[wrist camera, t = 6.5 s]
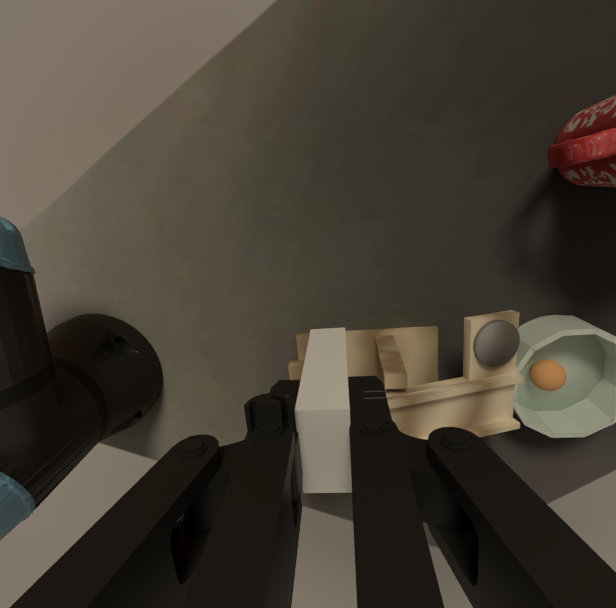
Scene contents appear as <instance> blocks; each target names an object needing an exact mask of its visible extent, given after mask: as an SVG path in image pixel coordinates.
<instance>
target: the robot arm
mask: <svg viewBox="0 0 616 608" xmlns="http://www.w3.org/2000/svg"><path fill="white" fill-rule="evenodd" d="M33 274H35V270H34V268H33V267H32V266H31V265H30V262H29V259H28V256H27V253H26V249H25V246H24V242H23V239H22V236H21V233H20V232H19V230H18V229H17V227H16V226H15V225H14V224H12V223H11V222H10V221H8V220H6V219H4V218H2V217H0V540H1V539H2V538H3V537H5V536H6V535H7V534H8V533H9V532H10V531H11V530H12V529H13V528H14V527H15V526H16V525H18V524H19V523H20V522H21V521H23V520H25V519H27V518H28V517H29V516H30V515H31V513H33V511H34V510H35V509H36V508H37V507H38V506H39V505H40V503H41V502H42V501H43V500H44V499H45V498H46V497H47V496H48V495H49V494H50V493H51V492H52V490H54V488H55V487H56V486H58V484H59V483H60V482H61V481H62V480H63V479H64V478H65V477H66V476H67V475H68V474H69V473H70V472H71V471H72V470H73V468H74V467H75V466H76V465H77V464H78V463H79V462H80V461H81V460H82V459H83V458H84V457H85V456H86V455H87V454H88V453H89V452H90V451H91V449H92V448H93V447H94V446H95V445H96V444H97V443H98V442H99V441H101V440H103V439H105V438H108V437H110V436H112V435H114V434H116V433H118V432H120V431H123V430H125V429H127V428H129V427H131V426H133V425H134V424H136V423H137V422H138V421H140V420H141V419H142V418H143V417H144V416H145V415H146V414H147V413H148V411H149V410H150V409H151V408H152V407H153V406H154V404H155V403H156V401H157V399H158V397H159V394H160V391H161V387H162V371H161V366H160V363H159V360H158V357H157V355H156V353H155V351H154V349H153V348H152V346H151V345H150V343H149V342H148V341H147V340H146V338H145V337H144V336H143V335H142V334H141V333H140V332H138V331H137V330H136V329H135V328H133V327H132V326H130V325H129V324H127V323H125V322H124V321H122V320H119V319H117V318H114V317H111V316H107V315H101V314H86V315H81V316H77V317H74V318H72V319H70V320H68V321H66V322H63V323H61V324H59V325H57V326H56V327H54V328H53V329H52V330H50V331H49V332H48V333H46V329H45V325H44V320H43V316H42V311H41V307H40V302H39V298H38V293H37V289H36V284H35V280H34V275H33ZM244 409H245V416H246V423H247V430H248V432H247V435H246V438H245V439H244V440H242V441H240V442H237V443H234V444H230V445H225V446H221V447H219V442H218V440H217V439H216V438H215V437H213V436H210V435H195V436H191V437H188V438H186V439H184V440H181V441H180V442H178V443H177V444H176V445H174V446H173V447H172V448H171V449H170V450H169V451H168V452H167V453H166V454H165V455H164V456H163V457H162V458H161V459H160V460H159V461H158V462H157V463H156V464H155V465H154V466H153V467H152V468H151V469H150V470H149V471H148V472H147V473H146V474H145V475H144V476H143V477H142V478H141V479H140V480H139V481H138V482H137V483H136V484H135V485H134V486H133V487H132V488H131V489H130V490H129V491H128V492H127V493H126V494H124V495H123V496H122V497H121V498H120V499H119V500H118V501H117V502H116V503H115V504H114V506H112V507H111V509H109V510H108V511H107V512H106V513H105V514H104V515H103V516H102V517H101V518H100V519H99V520H98V521H97V522H96V523H95V524H94V525H93V526H92V527H91V528H90V529H89V530H88V531H87V532H86V533H85V534H84V535H83V536H82V537H81V538H80V539H79V540H78V541H77V542H76V543H75V544H74V545H73V546H72V547H71V548H70V549H69V550H68V551H67V552H66V553H65V554H64V555H63V556H62V557H61V558H60V559H59V560H58V561H57V562H56V563H55V564H54V565H53V566H52V567H50V569H48V570H47V571H46V572H45V573H44V574H43V575H42V576H41V577H40V578H39V579H38V580H37V581H36V582H35V583H34V584H33V585H32V587H30V588H29V589H28V590H27V591H26V592H25V593H24V594H23V595H22V596H21V597H20V598H19V599H18V600H17V601H16V602H15V603H14V604H13V605H12V606H11V607H10V608H291V602H292V594H293V585H294V576H295V566H296V558H297V549H298V540H299V531H300V521H301V512H302V502H301V485H302V487H303V493H352V501H353V523H354V543H355V564H356V587H357V608H444V605H443V601H442V597H441V593H440V590H439V585H438V582H437V578H436V574H435V570H434V566H433V562H432V558H431V554H430V550H429V547H428V543H427V539H426V535H425V531H424V527H423V523H422V522H425V523H427V524H428V527H429V530H430V532H431V534H432V536H433V538H434V539H435V541H436V543H437V545H438V547H439V548H440V550H441V552H442V554H443V555H444V557H445V559H446V560H447V562H448V564H449V566H450V567H451V569H452V571H453V573H454V575H455V576H456V578H457V580H458V582H459V584H460V585H461V587H462V589H463V591H464V592H465V594H466V596H467V597H468V599H469V601H470V603H471V605H472V606H473V608H616V572H615V571H613V569H612V568H611V567H610V566H609V565H607V564H606V562H605V561H604V560H603V559H601V558H600V557H599V556H598V555H597V554H596V553H595V552H594V551H593V550H592V549H591V548H590V547H589V546H588V545H587V544H586V543H585V542H584V541H583V540H582V539H581V538H580V537H579V536H578V535H577V534H576V533H575V532H574V531H573V530H572V529H571V528H570V527H569V526H568V525H567V524H566V523H565V522H564V521H563V520H562V519H561V518H560V517H559V516H558V515H557V514H556V513H555V512H554V511H553V510H552V509H551V508H550V507H549V506H548V505H547V504H546V503H545V502H544V501H543V500H542V499H541V498H540V497H539V496H538V495H537V494H536V493H535V492H534V491H533V490H532V489H531V488H530V487H529V486H528V485H527V484H526V483H525V482H524V481H523V480H522V479H521V478H520V477H519V476H518V475H517V474H516V473H515V472H514V471H513V470H512V469H511V468H510V467H509V466H508V465H507V464H506V463H505V462H504V461H503V460H502V459H501V458H500V457H499V456H498V455H497V454H496V453H495V452H494V451H493V450H492V449H491V448H489V447H488V446H487V445H486V444H485V443H484V442H483V441H482V440H481V439H480V438H479V437H478V436H477V435H475V434H474V433H472V432H470V431H468V430H465V429H462V428H458V427H441V428H438V429H435V430H433V431H432V432H431V433H430V434H429V437H428V440H426V439H420V438H416V437H412V436H409V435H406V434H404V433H402V432H401V431H399V430H398V427H397V425H396V424H395V422H394V421H392V417H391V413H390V409H389V405H388V401H387V398H386V393H385V389H384V385H383V382H382V381H381V380H380V379H379V378H378V377H376V376H352V377H348V371H347V354H346V337H345V328H329V329H311V331H310V336H309V341H308V346H307V351H306V356H305V361H304V366H303V371H302V376H301V380H279V381H278V382H277V383H276V384H275V385H274V386H272V387H271V390H270V393H268V394H262V395H259V396H256V397H253V398H252V399H250V400H249V401H247V403H246V404H245V405H244ZM180 517H181V518H180ZM177 521H178V522H177Z"/></svg>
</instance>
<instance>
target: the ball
mask: <svg viewBox="0 0 616 608" xmlns="http://www.w3.org/2000/svg"><path fill="white" fill-rule="evenodd" d="M529 375H530V379H531V381H532V383H533V384H534V385H535V386H536V387H538V388H539V389H541V390H545V391H555V390H558V389H560V388H561V387H562V386H563V385H564V384H565V382H566V378H567V375H566V371H565V369H564V368H563V367H562V366H561V365H560V364H559V363H558V362H556V361H553V360H549V359H543V360H539V361H537V362H535V363H534V364H533V365H532V367H531V369H530V372H529Z"/></svg>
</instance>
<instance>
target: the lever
mask: <svg viewBox="0 0 616 608" xmlns="http://www.w3.org/2000/svg"><path fill="white" fill-rule="evenodd" d="M518 329H519V313H518V312H516V311H513V310H509V311H503V312H497V313H491V314H484V315H478V316H472V317H466V318H464V353H463V377H458V378H453V379H448V380H443V381H438V382H432V383H427V384H422V385H417V386H412V387H408V388H404V389H387V391H386V392H385V393H386V398H387V401H388V405H389V409H390V413H391V417H392V421H394V422H395V424H396V425H397V427H398V430H399V431H401V432H402V433H404V434H406V435H409V436H412V437H416V438H420V439H426V440H428V437H429V434H430V433H431V432H432V431H433V430H435V429H438V428H441V427H458V428H462V429H465V430H468V431H470V432H472V433H474V434H475V435H477V436H478V437H484V436H488V435H493V434H497V433H502V432H506V431H510V430H515V429H519V428H520V423H519V422H518V421H517V420H515V419H514V418H513V407H514V391H515V384H517V383H522V382H523V376H522V375H520V374H518V373H516V360H517V350H518V347H519V343H520V335H519V332H518Z"/></svg>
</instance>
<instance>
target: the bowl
mask: <svg viewBox="0 0 616 608" xmlns="http://www.w3.org/2000/svg"><path fill="white" fill-rule="evenodd" d="M518 332H519V335H520V343H519V347H518V350H517V360H516V373H518V374H520V375H522V376H523V382H522V383H517V384H515V391H514V407H513V411H514V412H515V414H516V415H517V416H518V417H519V419H520V420H521V421H522V422H523V424H524V425H525V426H528V427H530V428H532V429H534V430H536V431H538V432H540V433H542V434H545V435H547V436H549V437H551V438H570V437H586V436H588V435H590V434H592V433H595V432H597V431H599V430H601V429H603V428H605V427H607V426H610V425H612V424H614V423H616V336H614V335H612V334H610V333H608V332H606V331H604V330H602V329H600V328H598V327H596V326H594V325H591V324H589V323H587V322H585V321H583V320H581V319H579V318H577V317H575V316H573V315H545V316H541V317H537V318H534V319H531V320H529V321H527V322H525V323H523V324H522V325H520V326H519V329H518ZM543 359H549V360H553V361H556V362H558V363H559V364H560V365H561V366H562V367H563V368H564V369H565V371H566V375H567V378H566V382H565V384H564V385H563V386H562V387H561V388H560V389H558V390H555V391H545V390H541V389H539V388H538V387H536V386H535V385H534V384H533V383H532V381H531V379H530V375H529V372H530V369H531V367H532V365H533V364H534V363H535V362H537V361H539V360H543Z"/></svg>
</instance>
